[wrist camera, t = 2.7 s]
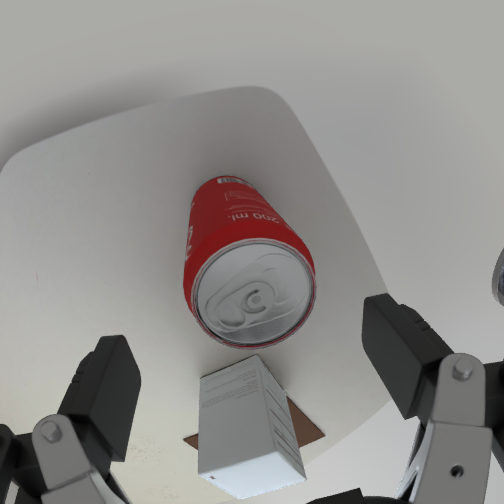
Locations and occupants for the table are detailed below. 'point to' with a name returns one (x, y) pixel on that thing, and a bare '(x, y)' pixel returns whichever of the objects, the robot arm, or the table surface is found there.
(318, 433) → the mat
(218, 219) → the beverage can
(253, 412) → the white packaging box
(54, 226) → the table surface
